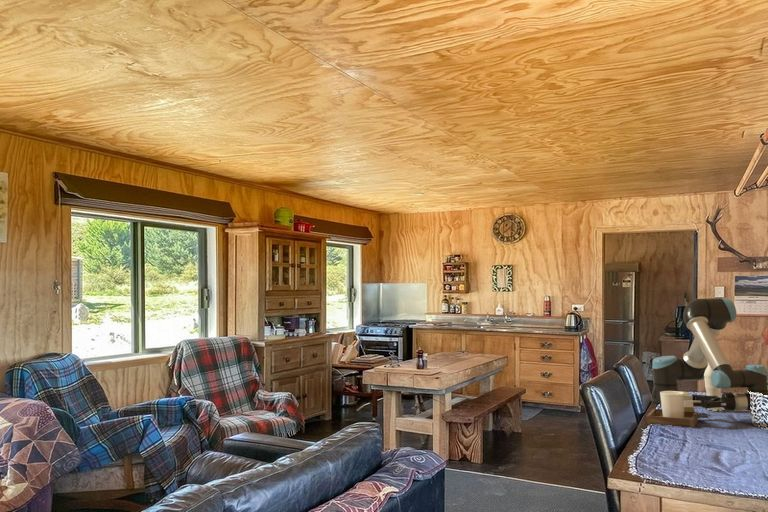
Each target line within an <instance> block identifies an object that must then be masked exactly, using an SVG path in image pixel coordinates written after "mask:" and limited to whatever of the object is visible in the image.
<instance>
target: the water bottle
mask: <svg viewBox="0 0 768 512" xmlns="http://www.w3.org/2000/svg"><path fill="white" fill-rule="evenodd" d="M707 363H708V362H707ZM712 372H713V370H712V369H711V367H710V365H709V363H708V366H707V368H706V370H705V372H704V380H703V381H704V388H705V393H706V394H705V395H706V396H718V397H720V398H721V397H722V388H716V387H715V386H714V385H713V384H712V382H711V381H712V380H711V373H712ZM723 409H724V408H723V407H718V408H707V411H709V410H711V411H712V412H714V411H716V412H717V411H718V412H722V411H723Z"/></svg>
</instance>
